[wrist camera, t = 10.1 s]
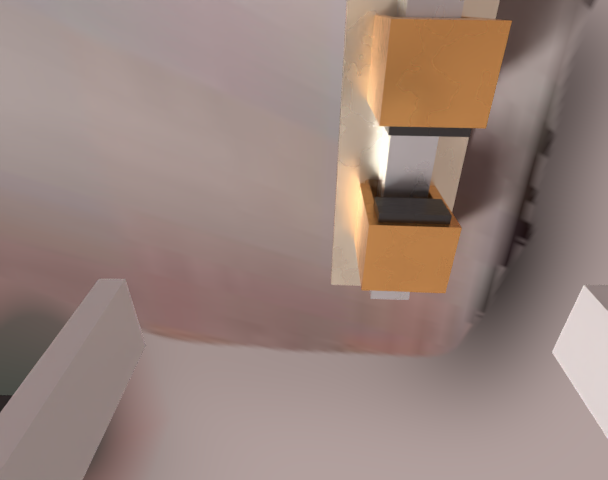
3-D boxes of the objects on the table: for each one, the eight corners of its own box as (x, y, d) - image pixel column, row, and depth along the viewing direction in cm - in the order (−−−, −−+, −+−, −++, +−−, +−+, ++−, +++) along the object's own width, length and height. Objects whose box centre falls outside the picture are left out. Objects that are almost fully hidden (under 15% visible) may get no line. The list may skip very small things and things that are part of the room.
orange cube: (360, 175, 30) (370, 216, 24) (436, 178, 29) (463, 219, 24) (354, 240, 32) (361, 290, 27) (423, 242, 32) (445, 293, 27)
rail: (349, -55, 23) (360, -76, 17) (504, -53, 23) (576, -74, 17) (330, 277, 36) (333, 338, 29) (432, 280, 35) (457, 342, 29)
